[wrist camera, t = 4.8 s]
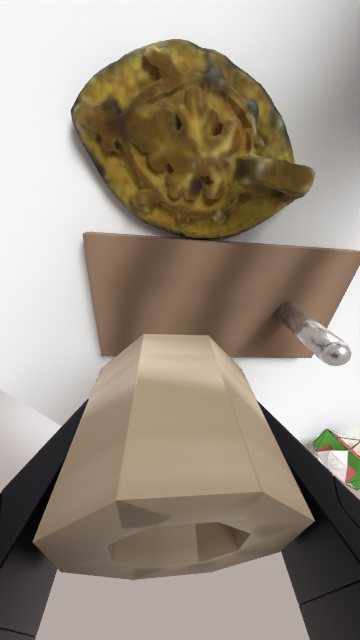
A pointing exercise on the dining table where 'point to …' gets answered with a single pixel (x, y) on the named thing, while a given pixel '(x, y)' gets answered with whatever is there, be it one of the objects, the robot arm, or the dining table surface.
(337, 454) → the geometric puzzle
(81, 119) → the olive gold carved ornament
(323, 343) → the steel post
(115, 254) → the board
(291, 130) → the dining table surface
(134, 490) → the beech bead
